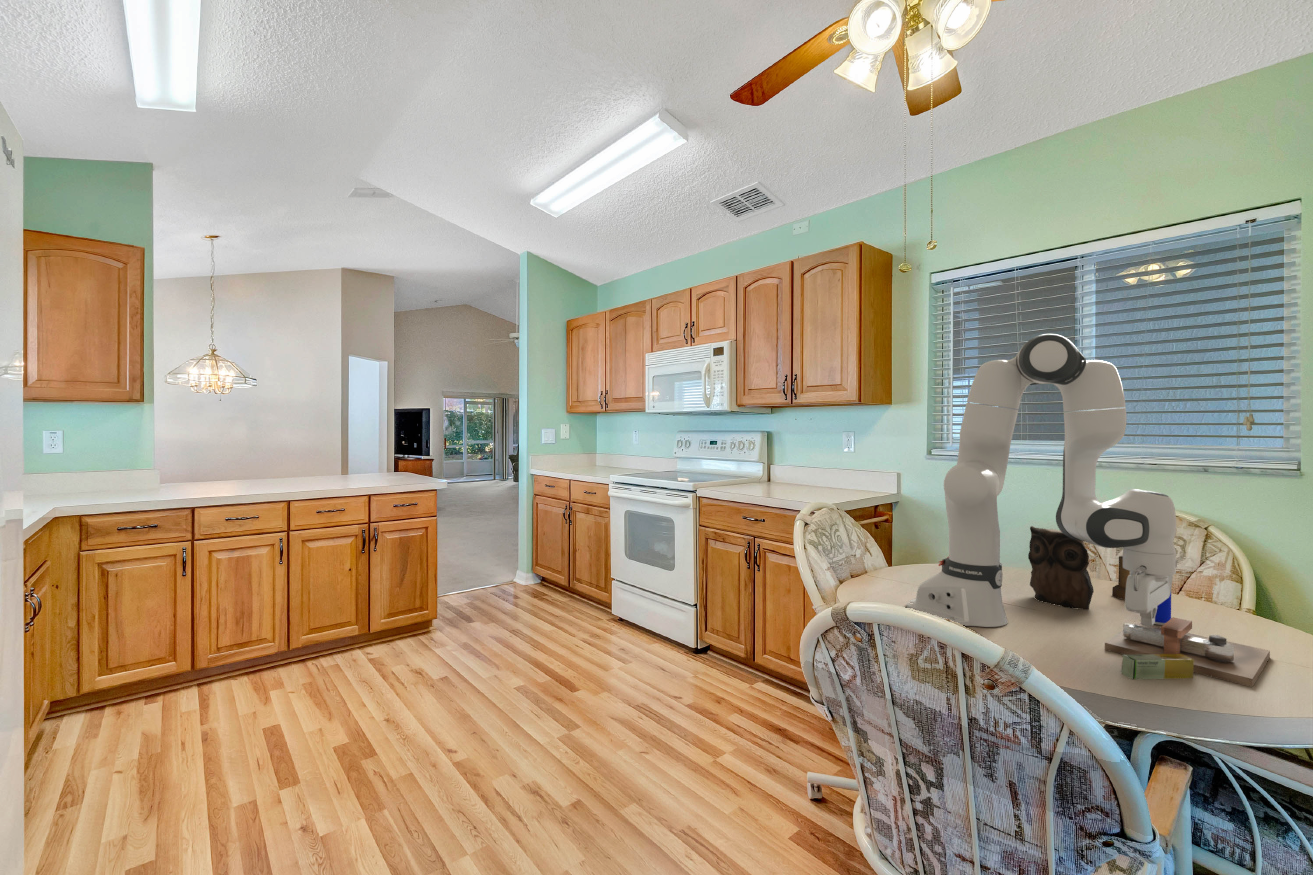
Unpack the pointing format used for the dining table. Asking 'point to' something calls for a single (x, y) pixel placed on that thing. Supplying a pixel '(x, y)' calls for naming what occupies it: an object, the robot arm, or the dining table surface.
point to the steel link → (1186, 642)
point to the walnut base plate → (1237, 671)
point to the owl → (1059, 569)
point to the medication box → (1157, 666)
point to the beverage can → (1163, 612)
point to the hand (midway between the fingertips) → (1147, 625)
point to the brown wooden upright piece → (1121, 581)
